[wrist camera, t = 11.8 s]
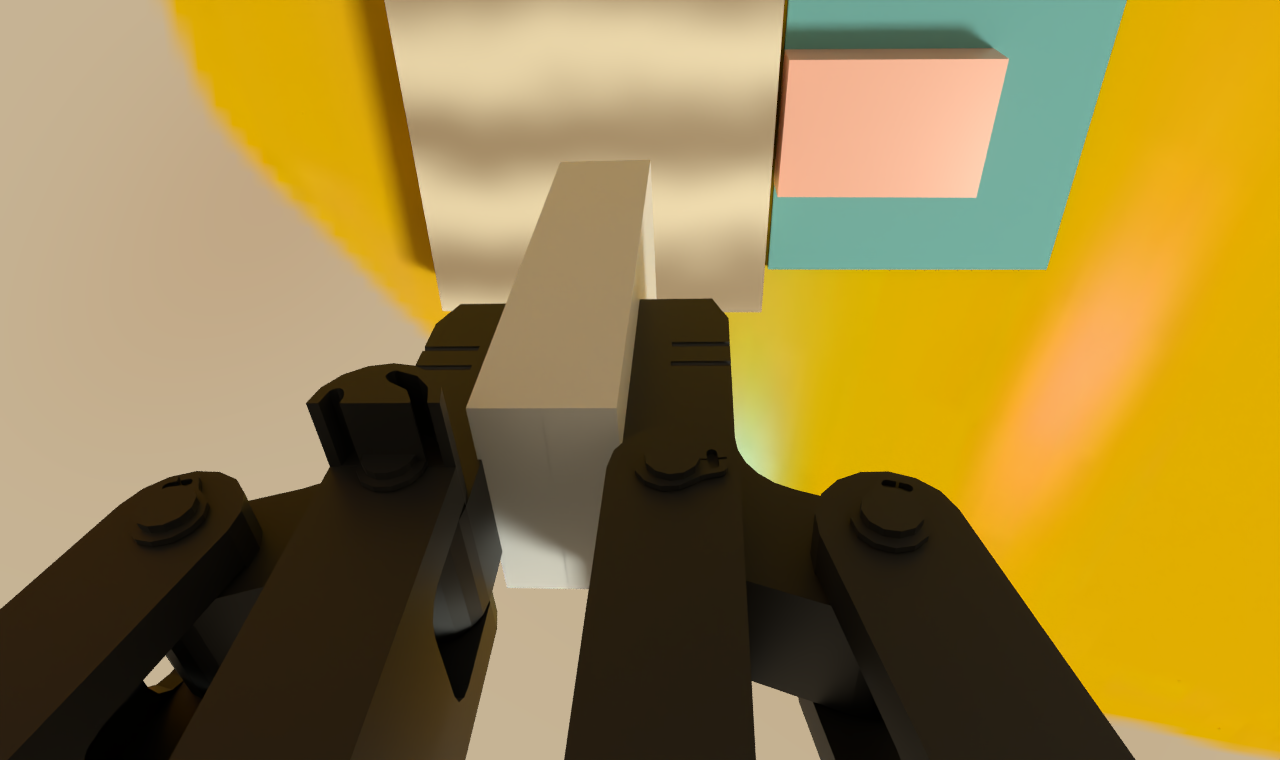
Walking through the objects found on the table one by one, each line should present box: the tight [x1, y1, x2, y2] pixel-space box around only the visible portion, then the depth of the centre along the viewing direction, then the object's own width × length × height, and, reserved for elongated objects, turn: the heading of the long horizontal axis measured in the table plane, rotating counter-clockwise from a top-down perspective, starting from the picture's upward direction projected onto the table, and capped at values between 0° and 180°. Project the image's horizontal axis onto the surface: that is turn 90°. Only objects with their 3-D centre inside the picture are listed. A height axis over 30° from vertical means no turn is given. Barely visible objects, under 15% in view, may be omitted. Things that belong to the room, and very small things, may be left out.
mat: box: [768, 0, 1127, 269], centre depth 36 cm, size 16×14×1 cm
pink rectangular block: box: [773, 48, 1009, 198], centre depth 35 cm, size 9×6×2 cm, turn 91°
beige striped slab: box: [384, 0, 784, 312], centre depth 36 cm, size 18×16×3 cm
